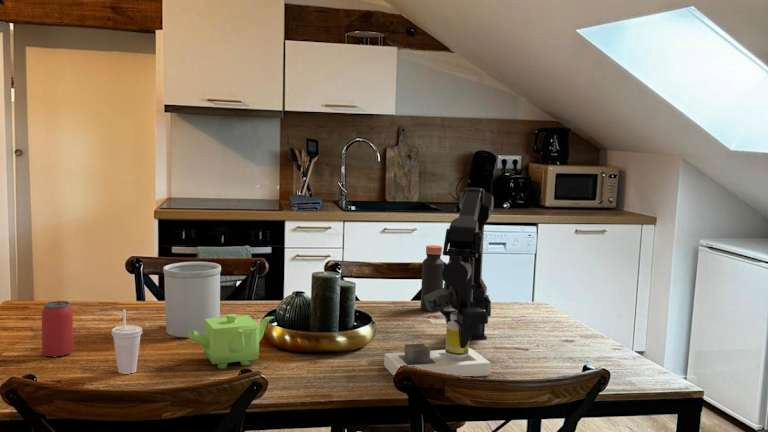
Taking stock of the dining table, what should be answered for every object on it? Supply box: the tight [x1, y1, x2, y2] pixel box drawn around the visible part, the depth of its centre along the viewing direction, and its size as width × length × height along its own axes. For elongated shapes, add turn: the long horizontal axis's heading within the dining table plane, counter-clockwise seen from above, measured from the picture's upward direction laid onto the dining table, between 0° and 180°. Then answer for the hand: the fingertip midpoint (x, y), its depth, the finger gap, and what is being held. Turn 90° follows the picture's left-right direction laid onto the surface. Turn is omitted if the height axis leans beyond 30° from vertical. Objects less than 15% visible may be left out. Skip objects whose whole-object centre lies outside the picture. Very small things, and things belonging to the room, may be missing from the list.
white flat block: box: [383, 347, 492, 377], centre depth 161 cm, size 22×11×3 cm, turn 108°
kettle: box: [188, 313, 275, 369], centre depth 161 cm, size 15×14×11 cm
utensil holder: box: [162, 261, 222, 338], centre depth 185 cm, size 15×15×18 cm
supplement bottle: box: [444, 312, 470, 358], centre depth 162 cm, size 5×5×10 cm
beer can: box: [41, 300, 74, 357], centre depth 162 cm, size 7×7×12 cm
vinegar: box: [420, 244, 445, 313], centre depth 217 cm, size 7×7×20 cm
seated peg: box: [404, 343, 431, 365], centre depth 159 cm, size 4×4×6 cm
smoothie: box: [111, 308, 143, 375], centre depth 152 cm, size 6×6×14 cm
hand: (457, 344), depth 162 cm, fingers closed on supplement bottle, 5 cm apart
